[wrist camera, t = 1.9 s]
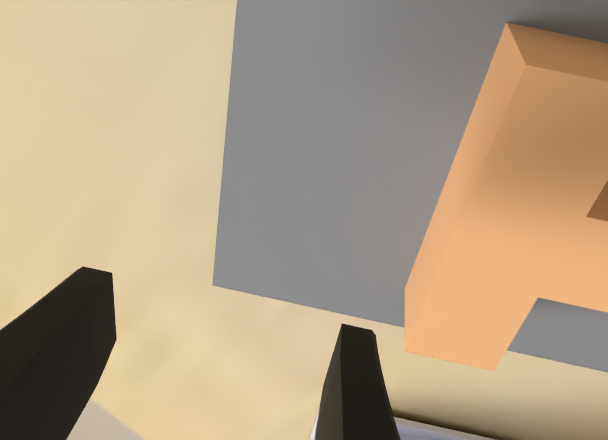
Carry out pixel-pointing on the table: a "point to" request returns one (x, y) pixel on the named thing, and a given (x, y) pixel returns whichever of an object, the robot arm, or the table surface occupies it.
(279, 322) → the table surface
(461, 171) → the t block
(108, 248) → the table surface
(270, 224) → the mat
